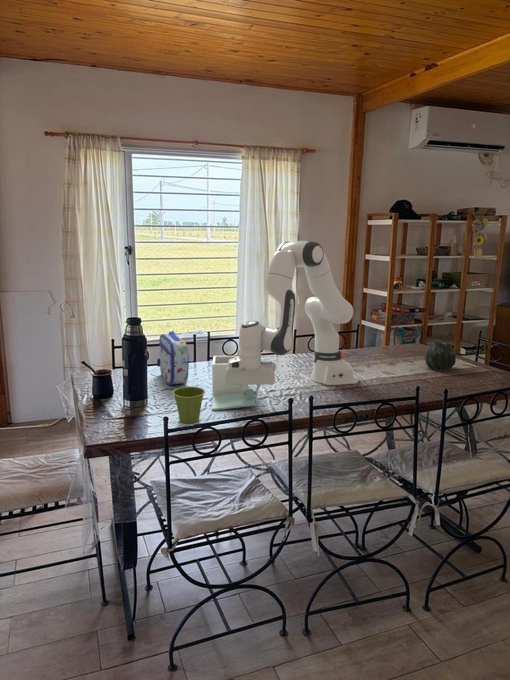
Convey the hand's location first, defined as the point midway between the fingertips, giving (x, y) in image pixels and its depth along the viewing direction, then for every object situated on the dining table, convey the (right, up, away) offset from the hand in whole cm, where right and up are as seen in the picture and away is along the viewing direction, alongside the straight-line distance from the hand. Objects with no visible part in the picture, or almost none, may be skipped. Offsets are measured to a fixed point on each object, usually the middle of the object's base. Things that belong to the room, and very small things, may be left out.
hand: (249, 394), depth 205 cm
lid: (-8, -3, 0) cm, 8 cm away
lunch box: (-36, +3, +32) cm, 49 cm away
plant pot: (-22, -8, -17) cm, 29 cm away
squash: (+97, +7, +54) cm, 111 cm away
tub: (-9, 0, +17) cm, 19 cm away
